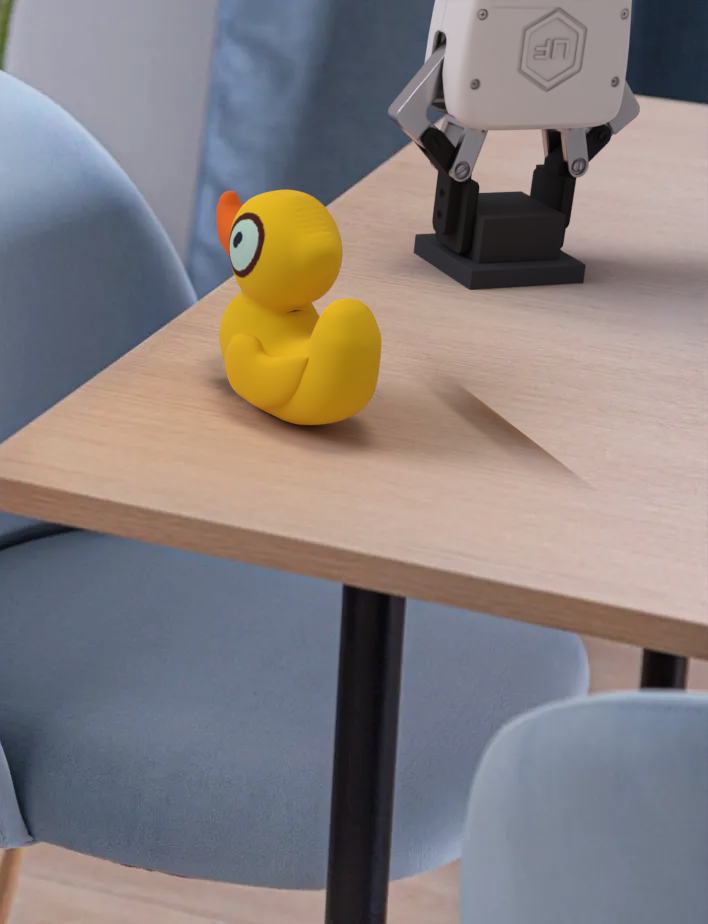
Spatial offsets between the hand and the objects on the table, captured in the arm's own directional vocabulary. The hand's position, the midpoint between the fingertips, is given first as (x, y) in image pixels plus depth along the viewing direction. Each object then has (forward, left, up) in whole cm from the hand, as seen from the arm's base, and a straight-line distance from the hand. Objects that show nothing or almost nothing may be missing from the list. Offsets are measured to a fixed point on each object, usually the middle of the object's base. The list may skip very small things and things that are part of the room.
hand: (498, 240), depth 98 cm
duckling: (+19, +15, -3) cm, 24 cm away
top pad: (0, 0, 0) cm, 0 cm away
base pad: (0, 0, -3) cm, 3 cm away
